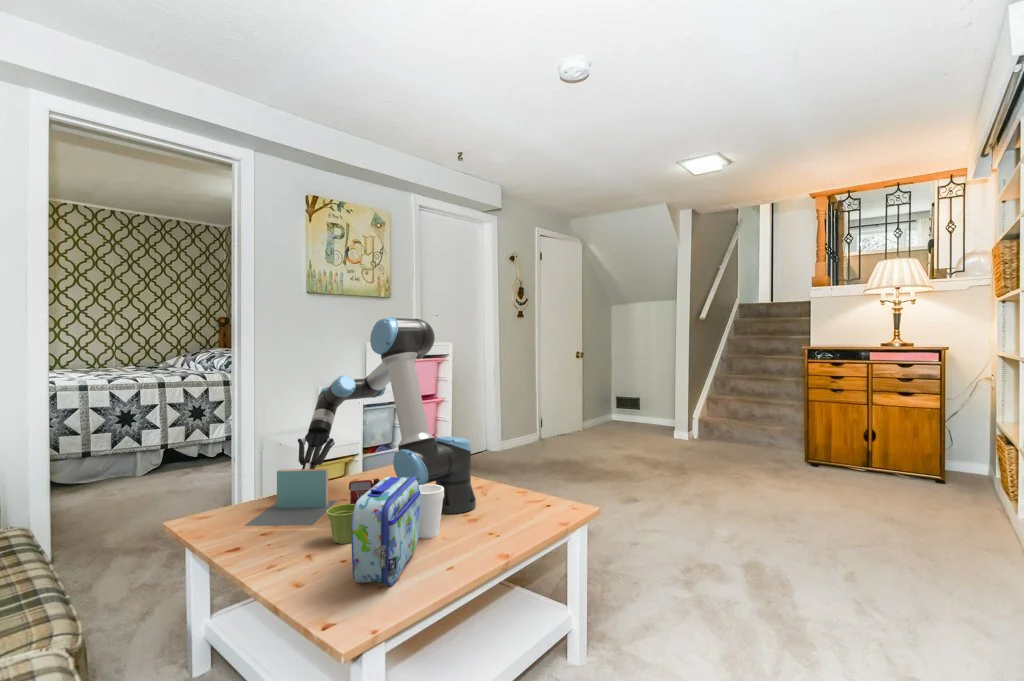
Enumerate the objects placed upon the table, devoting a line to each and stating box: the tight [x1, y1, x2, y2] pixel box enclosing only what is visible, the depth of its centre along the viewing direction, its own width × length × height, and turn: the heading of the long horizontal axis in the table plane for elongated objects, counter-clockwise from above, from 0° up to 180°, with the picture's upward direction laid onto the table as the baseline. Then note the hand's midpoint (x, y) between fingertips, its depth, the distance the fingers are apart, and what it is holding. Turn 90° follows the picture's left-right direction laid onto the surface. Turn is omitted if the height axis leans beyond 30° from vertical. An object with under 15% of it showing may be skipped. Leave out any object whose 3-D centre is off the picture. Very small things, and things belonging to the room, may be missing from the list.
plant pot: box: [325, 503, 355, 545], centre depth 146 cm, size 9×9×9 cm
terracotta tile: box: [276, 468, 329, 508], centre depth 174 cm, size 2×16×12 cm, turn 91°
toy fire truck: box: [348, 478, 381, 504], centre depth 171 cm, size 7×12×10 cm, turn 109°
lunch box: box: [350, 476, 420, 587], centre depth 129 cm, size 26×11×21 cm, turn 174°
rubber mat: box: [244, 499, 338, 527], centre depth 168 cm, size 24×20×1 cm
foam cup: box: [418, 483, 444, 539], centre depth 150 cm, size 10×9×13 cm
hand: (304, 482), depth 176 cm, fingers closed
